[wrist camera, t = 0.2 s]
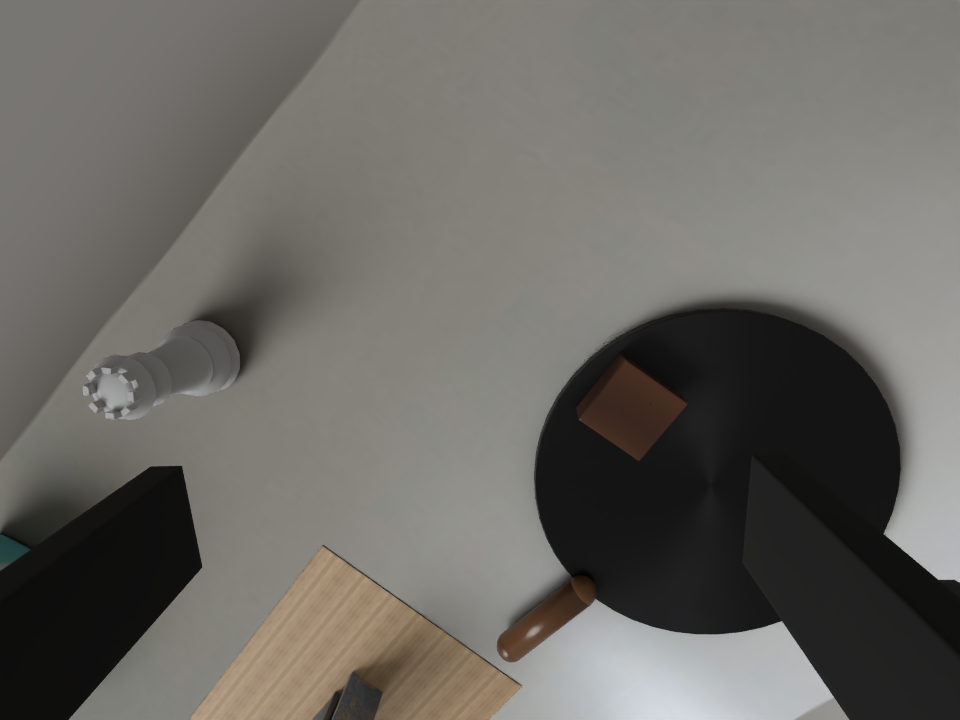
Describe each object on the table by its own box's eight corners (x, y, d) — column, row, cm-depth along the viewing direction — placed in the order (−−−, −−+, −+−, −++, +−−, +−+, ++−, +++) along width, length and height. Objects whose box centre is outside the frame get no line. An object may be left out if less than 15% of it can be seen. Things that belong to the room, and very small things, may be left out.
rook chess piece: (180, 309, 32) (67, 333, 24) (250, 331, 32) (160, 363, 24) (169, 377, 33) (58, 422, 25) (237, 399, 33) (147, 451, 25)
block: (619, 351, 29) (626, 360, 27) (678, 392, 29) (688, 404, 27) (575, 407, 30) (578, 419, 28) (632, 447, 30) (639, 462, 28)
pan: (729, 229, 28) (745, 229, 26) (968, 487, 30) (1000, 505, 28) (391, 538, 34) (382, 558, 32) (606, 735, 36) (611, 765, 34)
